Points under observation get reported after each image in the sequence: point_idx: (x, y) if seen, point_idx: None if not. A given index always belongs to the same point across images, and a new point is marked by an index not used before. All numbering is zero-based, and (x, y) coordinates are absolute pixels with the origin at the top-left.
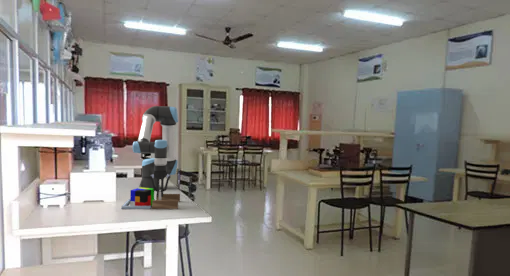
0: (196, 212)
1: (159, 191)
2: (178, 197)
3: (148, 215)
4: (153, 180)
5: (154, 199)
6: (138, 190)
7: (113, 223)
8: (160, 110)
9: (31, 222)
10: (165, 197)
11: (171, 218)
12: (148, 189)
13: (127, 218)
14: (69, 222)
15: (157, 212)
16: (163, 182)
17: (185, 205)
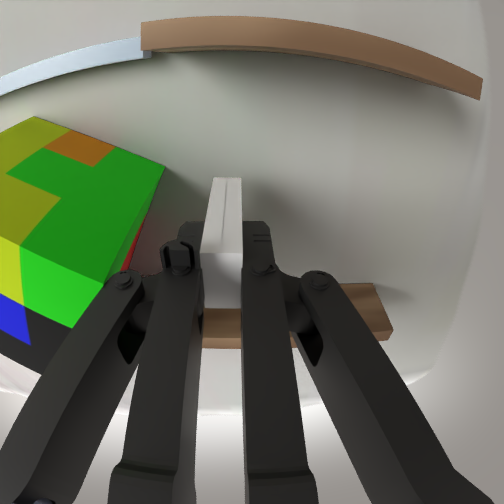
0: (426, 341)
1: (210, 276)
2: (442, 86)
3: (201, 379)
4: (82, 477)
5: (140, 54)
6: (4, 345)
7: (116, 410)
8: None
9: None
10: (288, 50)
11: (305, 398)
12: (54, 323)
13: (130, 391)
14: (11, 378)
15: (237, 352)
16: (298, 424)
17: (438, 220)
